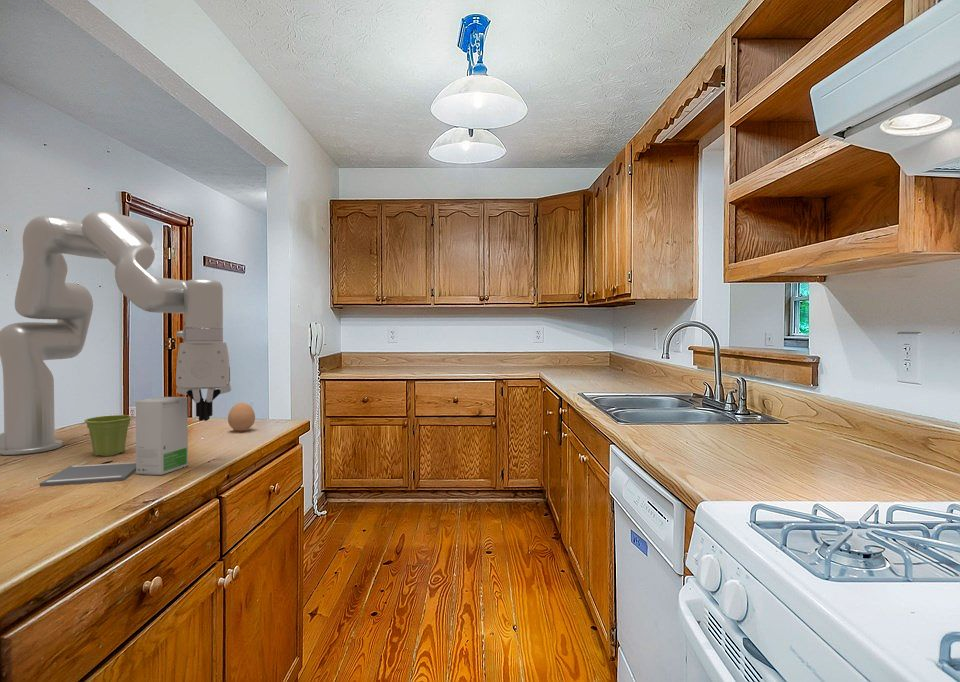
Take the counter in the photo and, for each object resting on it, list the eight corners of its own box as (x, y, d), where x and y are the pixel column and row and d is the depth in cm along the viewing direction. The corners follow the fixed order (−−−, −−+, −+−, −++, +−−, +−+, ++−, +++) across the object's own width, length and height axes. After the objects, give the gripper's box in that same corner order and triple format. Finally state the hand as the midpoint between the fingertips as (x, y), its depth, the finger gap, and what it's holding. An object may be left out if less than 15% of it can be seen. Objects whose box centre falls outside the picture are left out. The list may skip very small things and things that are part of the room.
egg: (237, 434, 150) (237, 405, 150) (222, 431, 154) (222, 402, 154) (260, 430, 156) (260, 402, 156) (245, 427, 160) (245, 400, 160)
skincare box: (161, 476, 108) (160, 401, 108) (133, 474, 109) (132, 400, 109) (189, 465, 117) (189, 396, 116) (163, 464, 118) (162, 395, 117)
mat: (39, 486, 101) (39, 482, 101) (69, 468, 113) (69, 465, 113) (123, 480, 105) (123, 477, 105) (143, 464, 117) (143, 461, 117)
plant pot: (86, 460, 120) (86, 423, 120) (83, 453, 127) (82, 417, 127) (135, 454, 127) (134, 418, 126) (129, 447, 134) (128, 413, 133)
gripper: (160, 336, 109) (161, 424, 109) (238, 336, 113) (239, 421, 114) (169, 336, 116) (170, 418, 116) (243, 336, 120) (243, 415, 121)
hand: (204, 419), depth 115 cm, fingers closed
